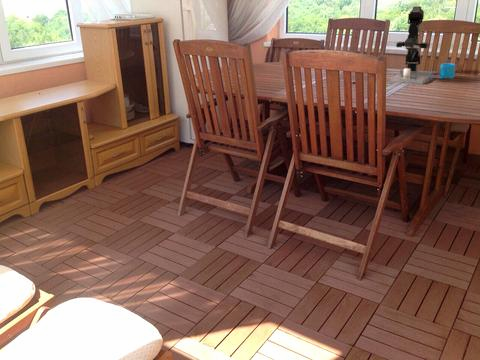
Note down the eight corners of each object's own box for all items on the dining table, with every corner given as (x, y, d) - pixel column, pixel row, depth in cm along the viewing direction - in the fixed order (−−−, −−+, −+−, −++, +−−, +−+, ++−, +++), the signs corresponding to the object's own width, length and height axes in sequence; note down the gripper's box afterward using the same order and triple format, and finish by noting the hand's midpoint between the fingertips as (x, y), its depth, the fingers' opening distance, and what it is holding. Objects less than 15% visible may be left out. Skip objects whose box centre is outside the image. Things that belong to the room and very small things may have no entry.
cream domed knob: (404, 79, 312) (405, 68, 309) (410, 79, 309) (411, 68, 307) (401, 80, 309) (402, 69, 306) (408, 81, 306) (409, 69, 304)
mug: (445, 75, 317) (446, 62, 314) (456, 77, 311) (458, 64, 308) (433, 78, 311) (434, 65, 308) (444, 80, 305) (446, 66, 301)
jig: (400, 77, 319) (400, 70, 317) (431, 79, 307) (432, 72, 305) (390, 81, 307) (390, 74, 306) (422, 84, 296) (423, 76, 294)
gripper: (393, 34, 303) (391, 60, 308) (424, 35, 292) (422, 62, 298) (400, 32, 311) (398, 57, 316) (430, 33, 300) (428, 59, 306)
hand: (411, 59), depth 309 cm, fingers closed
